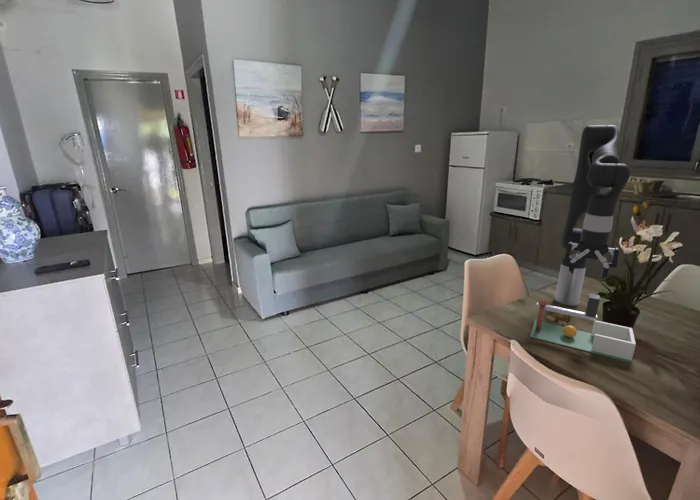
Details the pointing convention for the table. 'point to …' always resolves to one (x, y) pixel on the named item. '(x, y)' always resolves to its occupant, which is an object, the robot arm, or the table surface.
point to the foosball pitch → (592, 339)
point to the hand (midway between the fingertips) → (586, 275)
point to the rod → (588, 314)
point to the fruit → (559, 318)
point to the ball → (569, 331)
